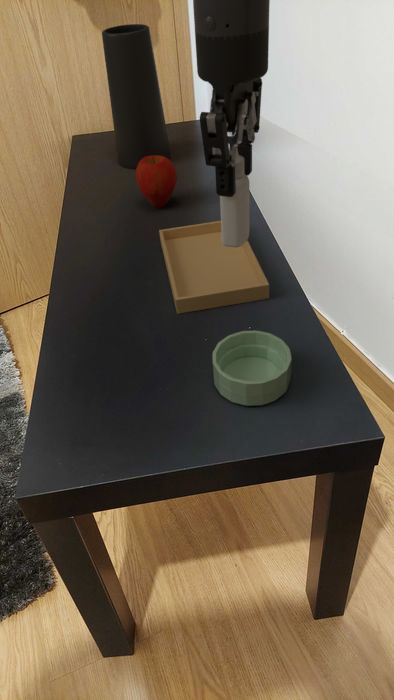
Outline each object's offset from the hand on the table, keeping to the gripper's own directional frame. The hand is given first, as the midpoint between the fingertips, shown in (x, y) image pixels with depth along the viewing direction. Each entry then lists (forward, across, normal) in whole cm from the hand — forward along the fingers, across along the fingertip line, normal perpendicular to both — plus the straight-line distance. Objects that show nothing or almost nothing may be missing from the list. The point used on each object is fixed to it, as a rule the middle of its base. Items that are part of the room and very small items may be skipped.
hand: (234, 183), depth 63 cm
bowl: (+23, -10, -6) cm, 26 cm away
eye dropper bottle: (+8, 0, 0) cm, 8 cm away
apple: (+24, +34, +30) cm, 51 cm away
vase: (+24, +58, +46) cm, 77 cm away
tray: (+23, +14, +10) cm, 29 cm away
